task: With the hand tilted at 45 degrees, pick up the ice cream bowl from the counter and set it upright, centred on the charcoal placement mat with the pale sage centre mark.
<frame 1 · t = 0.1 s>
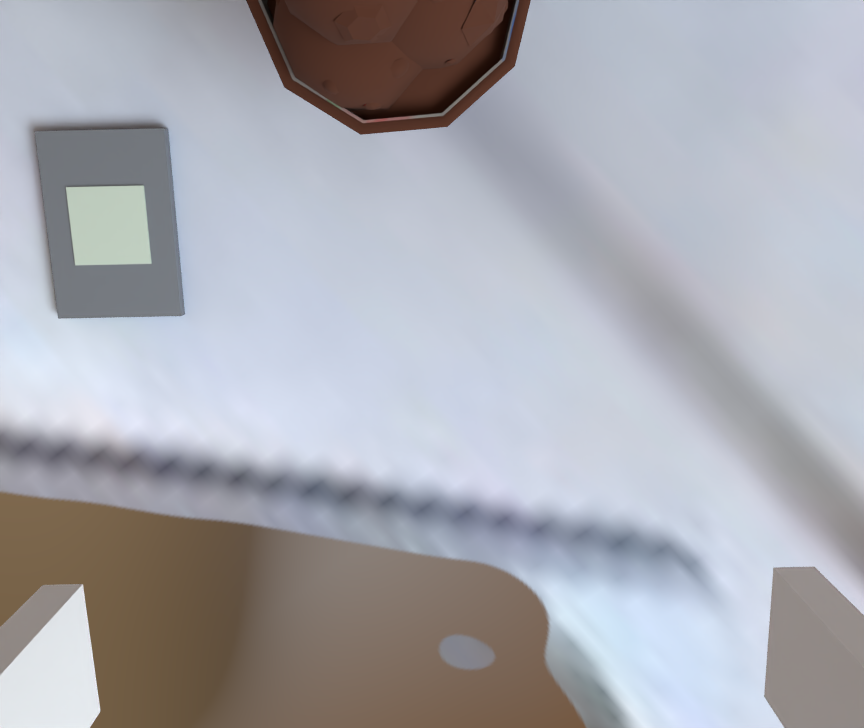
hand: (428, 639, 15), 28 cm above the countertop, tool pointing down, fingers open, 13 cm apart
placement mat: (114, 225, 41), on the countertop
ice cream bowl: (402, 36, 39), on the countertop
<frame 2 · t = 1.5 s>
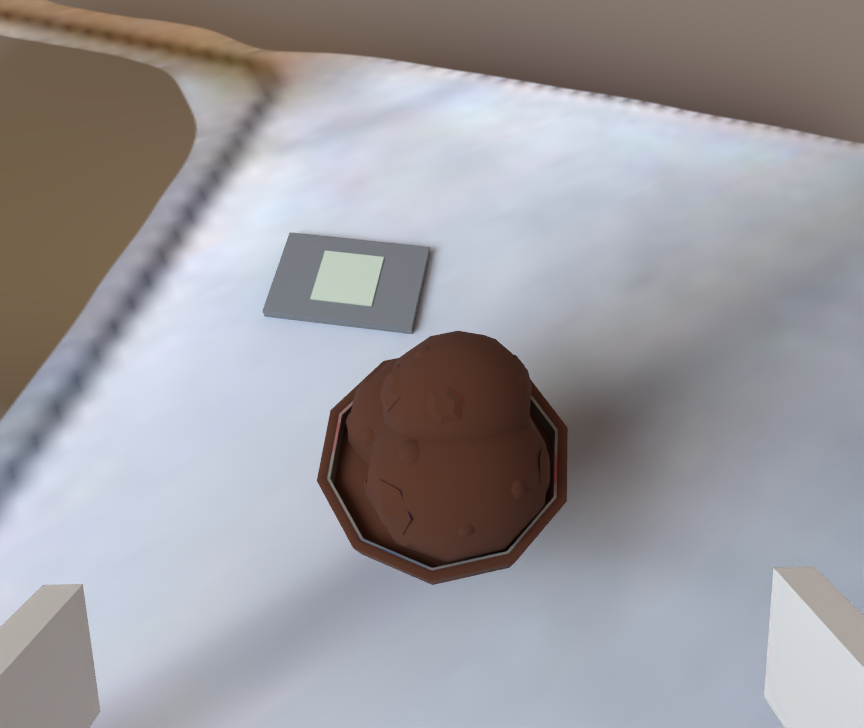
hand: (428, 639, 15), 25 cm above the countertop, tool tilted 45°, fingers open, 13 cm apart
placement mat: (349, 283, 51), on the countertop
ice cream bowl: (448, 530, 42), on the countertop
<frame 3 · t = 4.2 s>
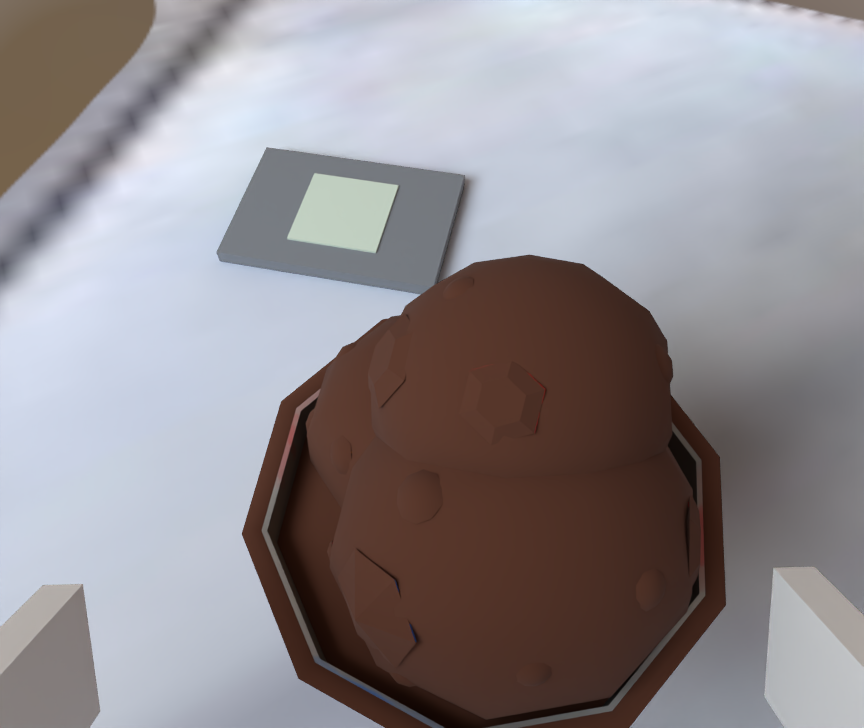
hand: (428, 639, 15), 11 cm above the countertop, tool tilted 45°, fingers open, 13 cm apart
placement mat: (345, 221, 35), on the countertop
ice cream bowl: (476, 605, 26), on the countertop
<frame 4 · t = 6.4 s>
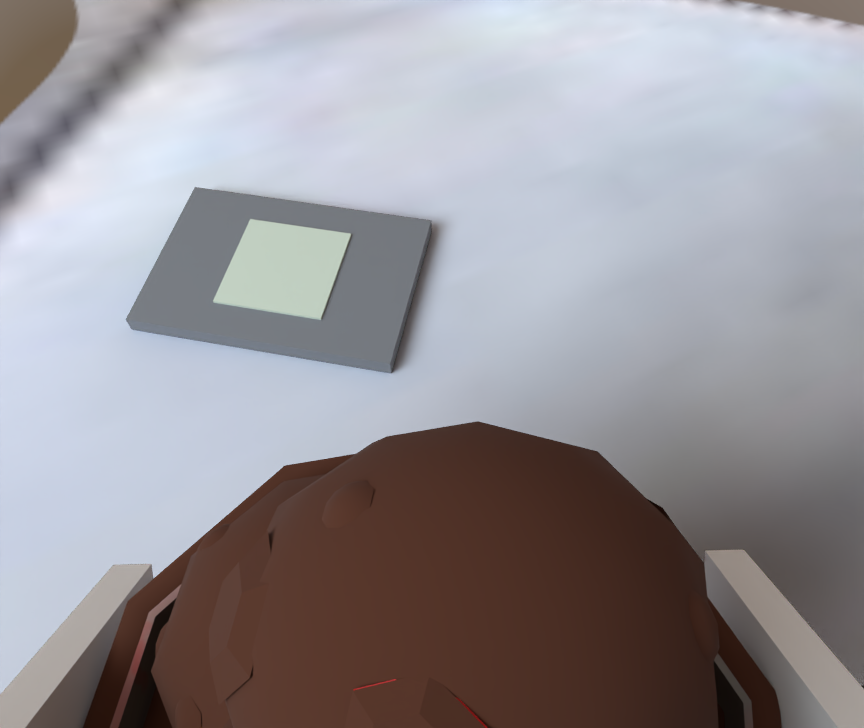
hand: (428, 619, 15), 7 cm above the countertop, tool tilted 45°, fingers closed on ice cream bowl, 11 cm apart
placement mat: (287, 278, 29), on the countertop
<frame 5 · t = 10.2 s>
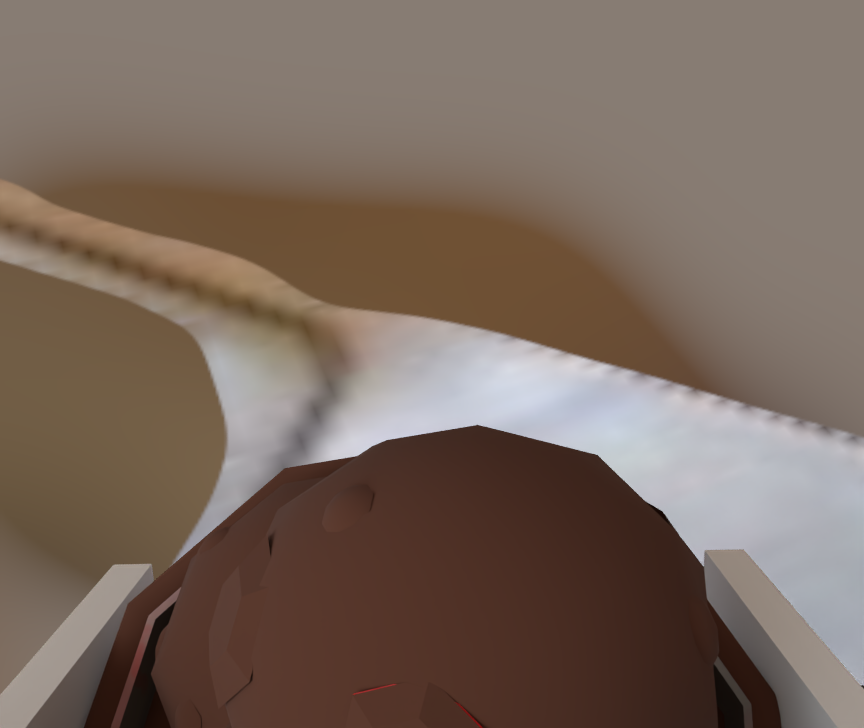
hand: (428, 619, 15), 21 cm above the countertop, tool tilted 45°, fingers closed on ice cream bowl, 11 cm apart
when the fingers open (9 cm above the countertop, at t = 13.8 s): ice cream bowl drops 1 cm, resting on placement mat.
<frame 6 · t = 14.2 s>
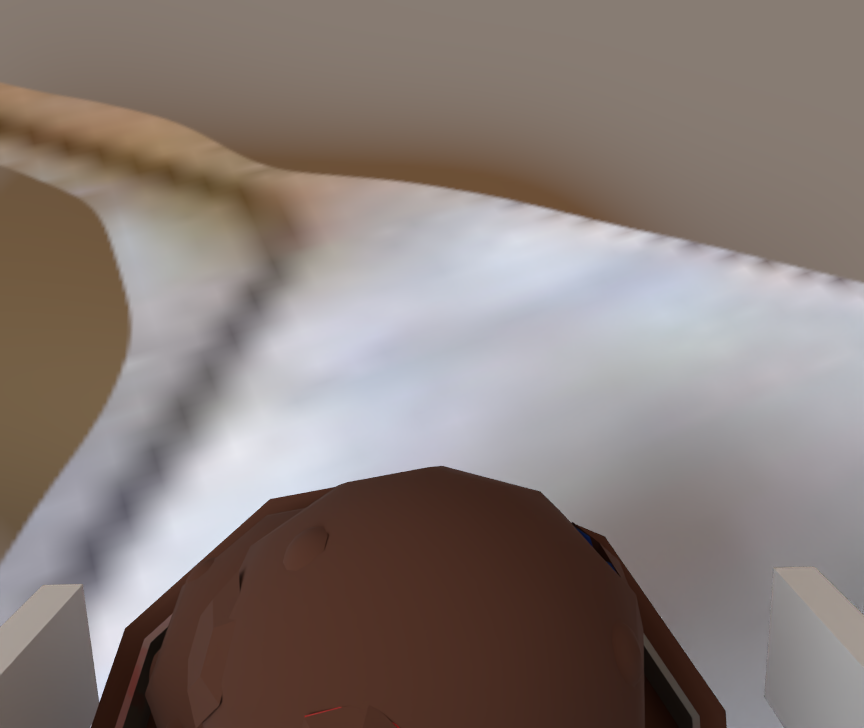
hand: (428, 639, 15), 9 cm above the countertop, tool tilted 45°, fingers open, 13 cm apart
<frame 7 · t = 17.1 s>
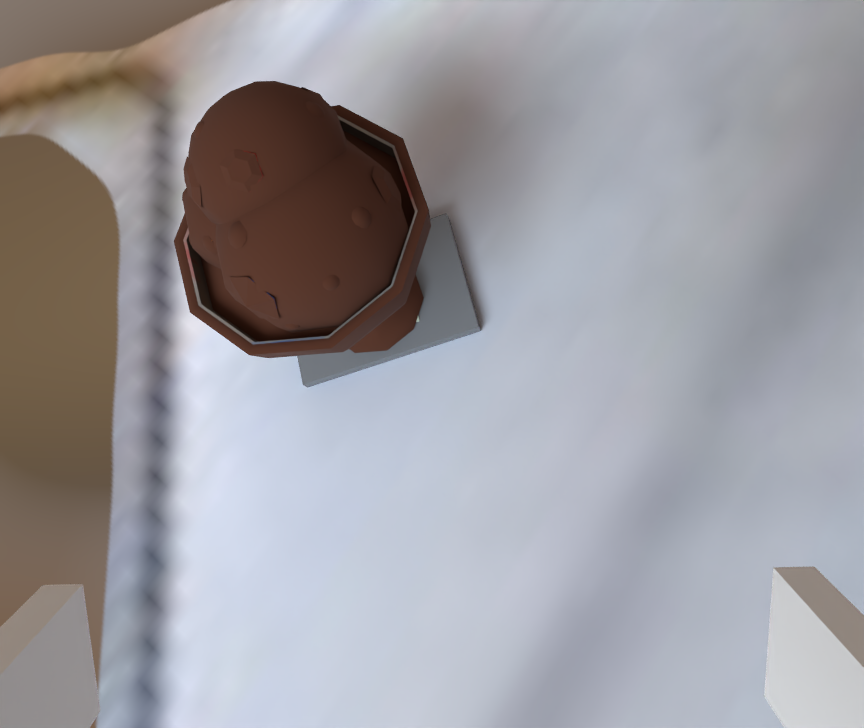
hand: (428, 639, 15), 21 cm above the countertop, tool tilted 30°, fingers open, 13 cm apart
placement mat: (378, 302, 41), on the countertop
ice cream bowl: (373, 304, 40), point 1 cm above the countertop, touching placement mat
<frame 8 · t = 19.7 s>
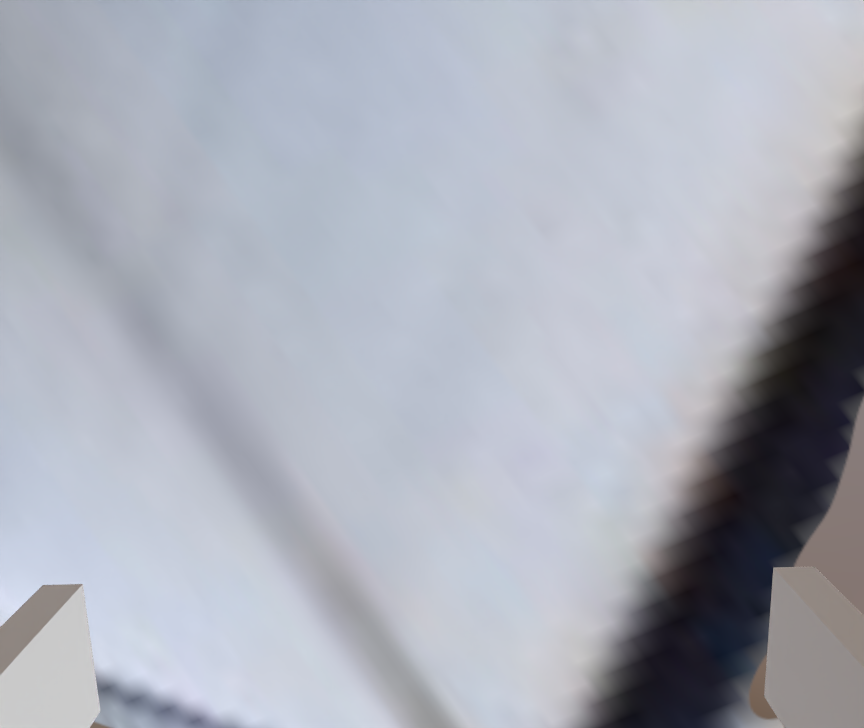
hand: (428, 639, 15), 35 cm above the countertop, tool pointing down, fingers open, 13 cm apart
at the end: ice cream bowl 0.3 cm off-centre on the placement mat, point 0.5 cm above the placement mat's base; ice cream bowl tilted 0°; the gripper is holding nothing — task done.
